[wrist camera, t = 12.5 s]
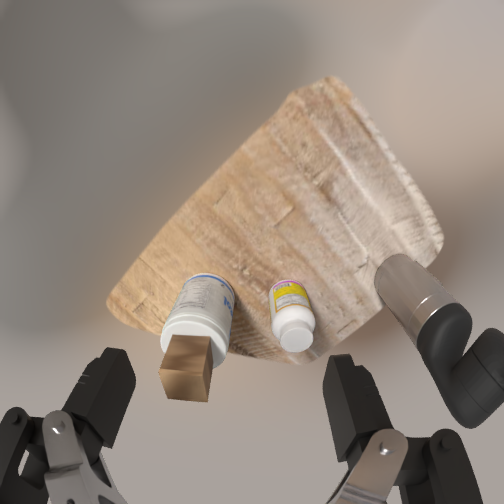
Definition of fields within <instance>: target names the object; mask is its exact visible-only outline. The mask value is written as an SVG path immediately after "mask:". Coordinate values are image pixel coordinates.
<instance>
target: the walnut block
mask: <svg viewBox="0 0 504 504" xmlns="http://www.w3.org/2000/svg"><path fill="white" fill-rule="evenodd" d="M212 369H213V356H212V348H211V341H210V336H191V335H173V334H172V337H171V340H170V342H169V345H168V348H167V350H166V353H165V356H164V359H163V361H162V364H161V367H160V369H159V372H158V373H159V375H160V379H161V382H162V384H163V387H164V390H165V393H166V395H167V398H168V399H176V400H185V401H197V402H208V395H209V389H210V382H211V375H212Z"/></svg>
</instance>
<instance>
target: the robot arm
mask: <svg viewBox="0 0 504 504" xmlns="http://www.w3.org/2000/svg"><path fill="white" fill-rule="evenodd" d="M374 283H375V288H376V290H377V292H378V293H379V295H380V296H381V297H382V299H383V300H384V302H385V303H386V304H387V306H388V307H389V309H390V310H391V311H392V313H393V314H394V316H395V317H396V319H397V320H398V321H399V323H400V324H401V326H402V327H403V329H404V330H405V332H406V333H407V335H408V336H409V337H410V339H411V340H412V342H413V343H414V345H415V346H416V348H417V349H418V351H419V352H420V354H421V356H422V359H423V361H424V363H425V365H426V367H427V368H428V370H429V372H430V373H431V376H432V377H433V379H434V381H435V383H436V385H437V387H438V390H439V392H440V394H441V396H442V398H443V400H444V402H445V404H446V406H447V407H448V409H449V411H450V412H451V414H452V416H453V417H454V418H455V419H456V421H457V422H458V423H459V424H460V425H462V426H464V427H465V428H469V429H472V428H476V427H477V426H479V425H480V424H481V423H483V422H484V421H485V420H486V419H487V418H488V417H489V416H490V415H491V414H492V413H493V412H494V411H495V410H496V409H497V408H498V407H499V406H500V405H501V404H502V403H503V402H504V334H503V333H502V332H501V331H499V330H497V329H494V328H488V329H486V330H485V331H484V332H483V333H482V334H481V335H480V336H479V337H478V339H477V340H476V341H475V342H474V344H473V345H472V346H471V347H470V348H469V349H468V351H467V352H466V353H465V354H464V355H463V352H464V349H465V347H466V344H467V342H468V339H469V337H470V334H471V330H472V318H471V316H470V314H469V312H468V311H467V310H466V309H465V308H464V307H463V306H462V305H461V304H460V303H459V302H458V301H457V300H456V299H455V298H454V297H453V296H451V295H450V294H449V293H448V292H447V291H446V290H445V289H444V288H443V287H442V283H441V282H440V281H438V280H437V279H436V278H435V277H434V276H433V275H432V274H431V273H430V272H428V271H427V270H426V269H425V268H424V267H423V266H422V265H420V264H419V263H418V262H417V261H413V260H412V259H411V258H410V257H408V256H406V255H403V254H398V255H394V256H391V257H389V258H388V259H387V260H385V261H384V262H383V263H382V264H381V266H380V267H379V268H378V270H377V272H376V276H375V282H374ZM462 356H463V357H462ZM135 385H136V377H135V373H134V371H133V368H132V366H131V363H130V361H129V358H128V356H127V353H126V351H125V350H123V349H116V348H109V347H107V348H106V349H105V350H104V352H103V353H102V355H101V357H100V358H95V359H94V360H93V361H92V362H90V363H89V364H88V365H87V367H86V368H85V370H84V372H83V373H82V376H81V377H80V379H79V380H78V383H77V384H76V385H75V387H74V389H73V391H72V392H71V394H70V396H69V398H68V400H67V401H66V403H65V405H64V407H63V408H62V410H56V411H53V412H50V413H49V414H47V415H46V417H45V418H41V417H30V416H29V415H28V414H27V413H26V412H25V410H24V409H22V408H20V407H13V408H11V409H9V410H8V411H7V413H6V414H5V416H4V417H3V419H2V421H1V423H0V504H47V501H48V498H49V497H50V500H51V503H52V504H127V502H126V501H125V499H124V498H123V497H122V496H121V494H120V493H119V492H118V490H117V488H116V486H115V484H114V482H113V480H112V478H111V475H110V473H109V471H108V469H107V466H106V463H105V461H104V458H103V456H102V453H101V452H100V451H101V448H102V446H104V447H108V448H111V449H112V447H113V444H114V442H115V439H116V436H117V433H118V431H119V428H120V425H121V422H122V420H123V417H124V414H125V412H126V409H127V407H128V404H129V402H130V399H131V396H132V394H133V391H134V389H135ZM323 395H324V400H325V404H326V408H327V413H328V417H329V422H330V426H331V431H332V436H333V440H334V444H335V450H336V454H337V459H338V462H343V461H347V463H348V470H347V471H346V473H345V475H344V476H343V478H342V479H341V481H340V483H339V484H338V486H337V487H336V489H335V490H334V492H333V493H332V495H331V496H330V498H329V499H328V501H327V502H326V503H325V504H387V502H386V499H387V497H388V495H389V493H390V490H391V488H392V486H399V490H400V495H401V499H402V504H483V501H482V499H481V494H480V491H479V487H478V484H477V481H476V478H475V475H474V472H473V469H472V466H471V463H470V461H469V458H468V455H467V453H466V450H465V448H464V445H463V443H462V440H461V438H460V436H459V435H458V434H457V433H456V432H455V431H453V430H451V429H441V430H438V431H437V432H435V433H434V434H433V436H431V437H429V438H428V437H425V438H410V437H405V436H404V435H403V434H402V433H401V432H399V431H397V430H395V429H394V428H393V426H392V424H391V421H390V419H389V416H388V414H387V411H386V409H385V406H384V404H383V401H382V399H381V396H380V395H379V391H378V389H377V387H376V386H375V382H374V379H373V377H372V375H371V373H370V372H369V371H368V370H367V369H366V368H365V367H363V366H362V365H360V366H355V365H354V362H353V360H352V357H351V355H350V354H342V355H331V356H330V357H329V360H328V364H327V368H326V372H325V376H324V380H323ZM25 450H27V451H28V452H29V456H28V458H27V461H26V463H25V466H24V469H23V471H22V474H21V475H20V476H19V474H18V467H19V465H20V462H21V459H22V457H23V454H24V452H25Z"/></svg>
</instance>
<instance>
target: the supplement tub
mask: <svg viewBox="0 0 504 504" xmlns="http://www.w3.org/2000/svg"><path fill="white" fill-rule="evenodd" d="M234 300H235V297H234V292H233V290H232V288H231V286H230V285H229V284H228V282H227V281H226V280H224V279H223V278H222V277H220V276H218V275H215V274H212V273H199V274H196V275H194V276H192V277H190V278H189V279H188V280H187V281H186V282H185V284H184V286H183V288H182V290H181V292H180V294H179V296H178V298H177V300H176V302H175V304H174V306H173V308H172V310H171V312H170V314H169V316H168V318H167V321H166V323H165V325H164V327H163V330H162V334H161V339H160V342H161V347H162V349H163V351H164V353H166V350H167V348H168V345H169V342H170V340H171V337H172V334H173V335H191V336H210V341H211V348H212V356H213V368H216V367H217V366H219V365H220V364H221V363H222V362H223V361H224V359H225V357H226V353H227V351H228V347H229V340H230V333H231V325H232V317H233V309H234Z"/></svg>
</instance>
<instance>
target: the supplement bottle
mask: <svg viewBox="0 0 504 504" xmlns="http://www.w3.org/2000/svg"><path fill="white" fill-rule="evenodd" d="M269 307H270V317H271V327H272V332H273V334H274V336H275V337H276V338H277V339H278V340H280V344H281V346H282V348H283V349H284V350H286V351H288V352H292V353H297V352H301V351H304V350H306V349H307V348H309V347H310V346H311V344H312V342H313V334H312V333H313V331H314V329H315V317H314V314H313V312H312V309H311V306H310V303H309V300H308V297H307V294H306V291H305V289H304V287H303V286H302V285H301V284H300V283H299V282H297V281H295V280H290V279H287V280H282V281H279V282H277V283H276V284H275V285H274V286H273V287H272V288H271V290H270V292H269Z"/></svg>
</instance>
